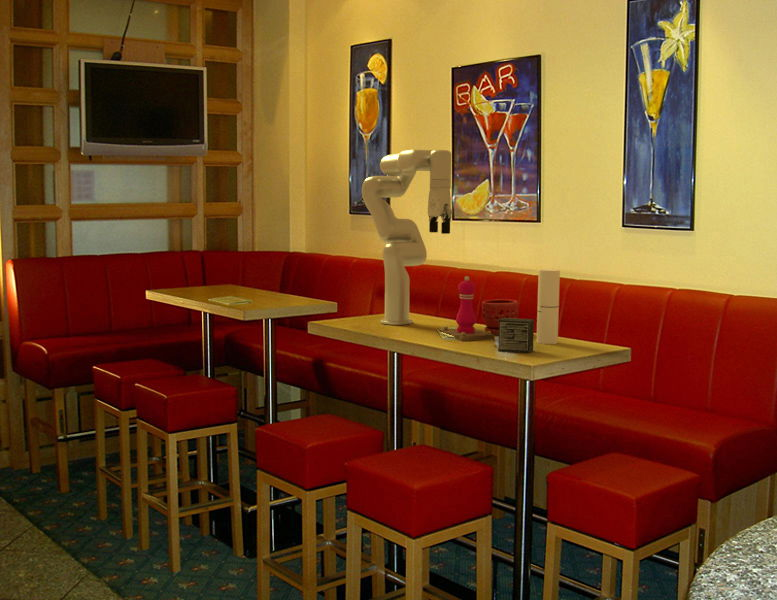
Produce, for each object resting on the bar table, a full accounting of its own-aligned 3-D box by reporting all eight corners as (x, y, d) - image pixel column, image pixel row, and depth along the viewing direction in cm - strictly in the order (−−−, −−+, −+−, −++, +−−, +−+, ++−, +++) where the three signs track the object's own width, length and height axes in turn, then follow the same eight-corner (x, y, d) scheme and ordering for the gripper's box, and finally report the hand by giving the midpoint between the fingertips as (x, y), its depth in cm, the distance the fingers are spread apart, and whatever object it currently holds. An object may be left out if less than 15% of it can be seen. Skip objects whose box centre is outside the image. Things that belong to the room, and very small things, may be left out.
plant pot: (507, 329, 350) (508, 298, 349) (523, 335, 338) (524, 302, 337) (475, 331, 346) (476, 299, 345) (490, 336, 334) (491, 303, 333)
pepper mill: (474, 334, 330) (475, 277, 327) (454, 333, 331) (455, 276, 329) (477, 331, 337) (478, 275, 334) (457, 330, 338) (458, 275, 336)
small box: (534, 350, 306) (534, 318, 305) (529, 353, 300) (530, 321, 299) (502, 348, 310) (503, 316, 308) (497, 351, 304) (498, 319, 302)
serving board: (439, 333, 339) (439, 326, 338) (471, 332, 344) (471, 324, 344) (461, 341, 323) (461, 333, 323) (494, 339, 328) (494, 331, 328)
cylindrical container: (550, 344, 317) (552, 271, 314) (532, 342, 322) (534, 269, 319) (561, 342, 323) (563, 269, 320) (543, 340, 327) (545, 268, 324)
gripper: (420, 184, 341) (419, 232, 343) (441, 184, 326) (440, 234, 328) (439, 185, 344) (438, 231, 346) (460, 185, 329) (460, 234, 331)
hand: (439, 233), depth 337 cm, fingers open, 9 cm apart
